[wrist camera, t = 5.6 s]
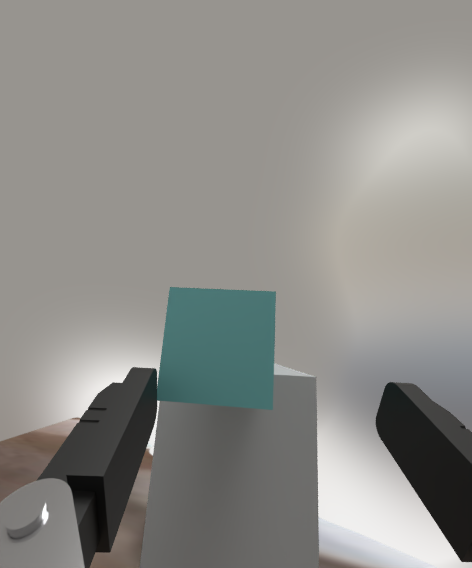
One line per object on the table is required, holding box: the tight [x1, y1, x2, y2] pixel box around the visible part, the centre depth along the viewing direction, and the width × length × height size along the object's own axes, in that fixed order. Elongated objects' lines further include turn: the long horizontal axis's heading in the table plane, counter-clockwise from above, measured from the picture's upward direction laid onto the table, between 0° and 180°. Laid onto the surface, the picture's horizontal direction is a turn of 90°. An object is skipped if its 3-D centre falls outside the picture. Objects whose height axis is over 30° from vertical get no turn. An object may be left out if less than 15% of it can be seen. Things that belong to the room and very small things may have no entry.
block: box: [157, 287, 276, 410], centre depth 23 cm, size 28×4×4 cm, turn 176°
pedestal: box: [140, 363, 319, 568], centre depth 24 cm, size 18×14×32 cm
